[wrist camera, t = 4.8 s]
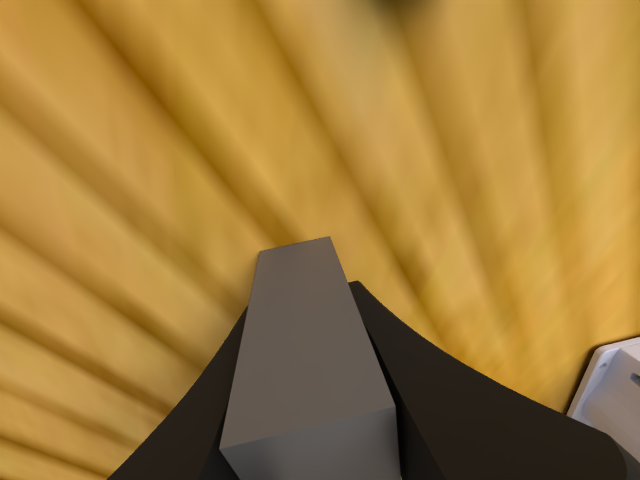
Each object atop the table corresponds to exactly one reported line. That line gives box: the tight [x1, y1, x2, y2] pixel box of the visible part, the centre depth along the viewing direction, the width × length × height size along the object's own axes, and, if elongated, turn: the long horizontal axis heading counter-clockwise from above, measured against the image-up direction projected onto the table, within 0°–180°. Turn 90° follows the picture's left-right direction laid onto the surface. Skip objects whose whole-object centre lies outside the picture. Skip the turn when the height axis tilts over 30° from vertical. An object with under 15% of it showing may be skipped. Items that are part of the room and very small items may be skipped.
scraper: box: [219, 236, 401, 480], centre depth 12 cm, size 21×6×7 cm, turn 10°
